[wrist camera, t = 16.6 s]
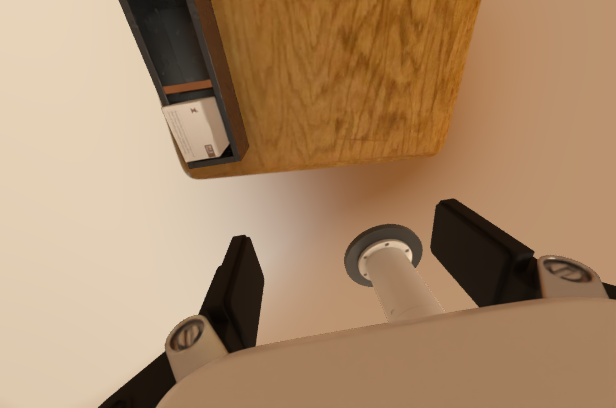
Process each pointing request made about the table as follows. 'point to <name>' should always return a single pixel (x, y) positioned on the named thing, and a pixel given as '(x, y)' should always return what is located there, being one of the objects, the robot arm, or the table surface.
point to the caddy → (188, 62)
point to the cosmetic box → (197, 128)
